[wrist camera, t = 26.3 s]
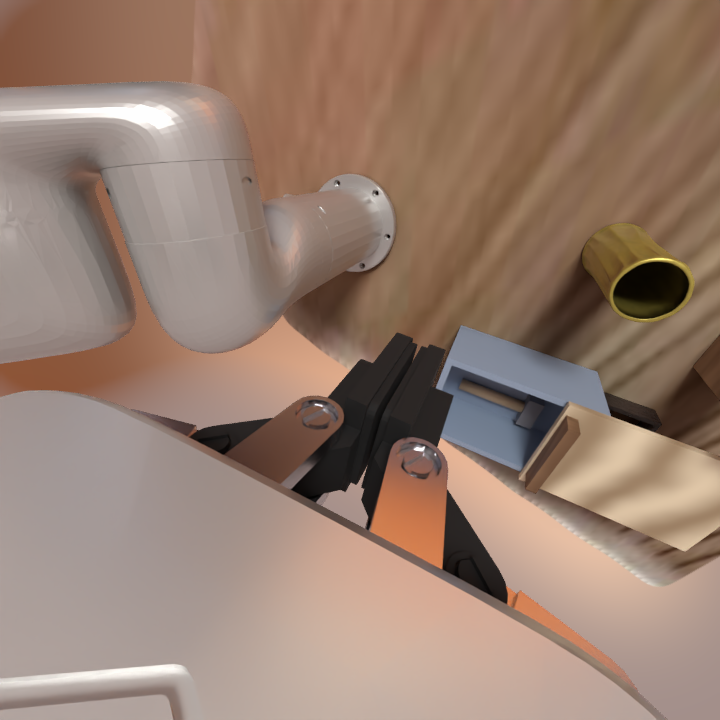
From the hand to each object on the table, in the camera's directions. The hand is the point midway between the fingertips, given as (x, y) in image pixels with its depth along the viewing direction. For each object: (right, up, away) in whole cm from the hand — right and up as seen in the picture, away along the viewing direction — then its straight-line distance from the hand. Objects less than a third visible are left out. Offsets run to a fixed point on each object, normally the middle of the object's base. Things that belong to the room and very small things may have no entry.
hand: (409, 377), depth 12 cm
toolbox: (+20, -3, +38) cm, 43 cm away
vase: (+26, +13, +27) cm, 40 cm away
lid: (+28, -12, +27) cm, 41 cm away
